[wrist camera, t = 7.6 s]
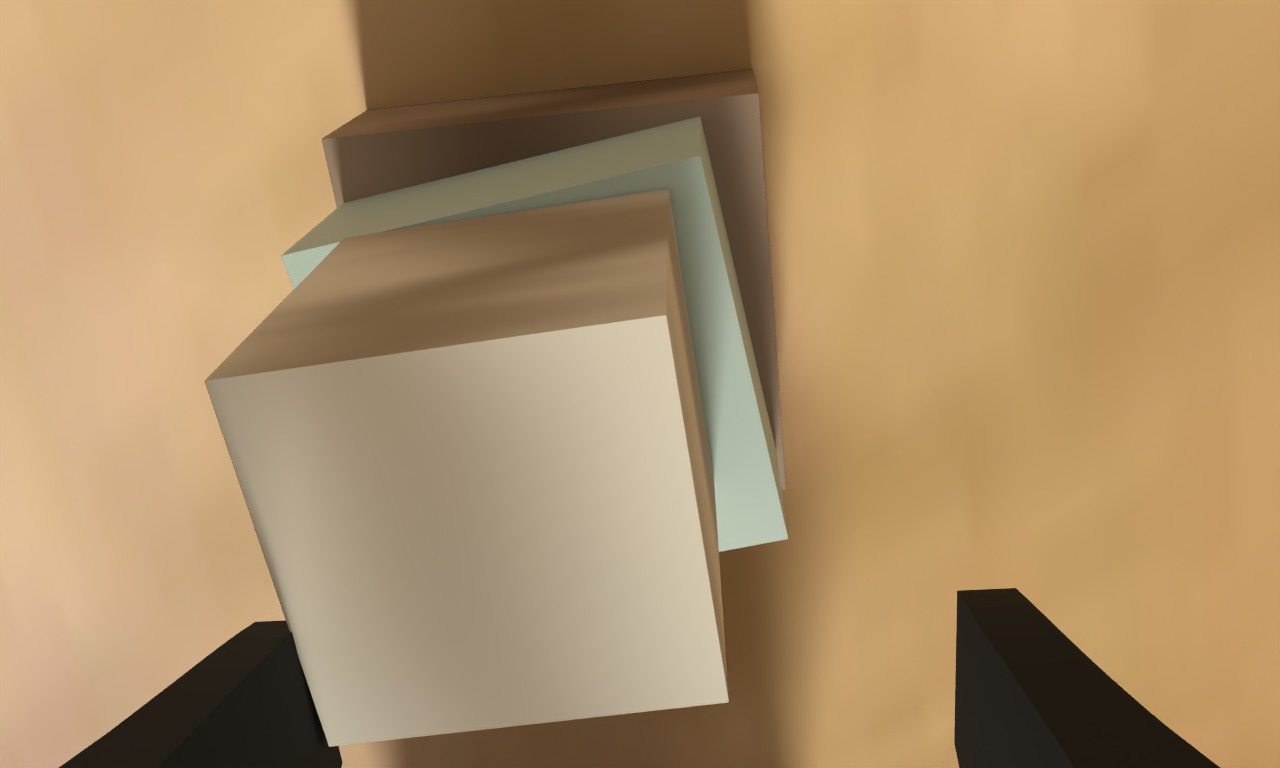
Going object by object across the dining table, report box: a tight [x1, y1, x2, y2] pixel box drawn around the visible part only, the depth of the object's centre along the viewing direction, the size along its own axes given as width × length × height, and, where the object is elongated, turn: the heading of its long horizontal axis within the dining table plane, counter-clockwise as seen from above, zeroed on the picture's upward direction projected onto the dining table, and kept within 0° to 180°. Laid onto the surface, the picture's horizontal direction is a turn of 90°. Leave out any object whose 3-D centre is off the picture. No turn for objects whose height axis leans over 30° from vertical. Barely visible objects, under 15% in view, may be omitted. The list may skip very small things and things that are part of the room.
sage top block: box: [281, 116, 788, 552], centre depth 18 cm, size 6×6×3 cm
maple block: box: [205, 188, 729, 747], centre depth 14 cm, size 4×4×5 cm
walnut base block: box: [322, 69, 786, 490], centre depth 20 cm, size 7×7×3 cm
